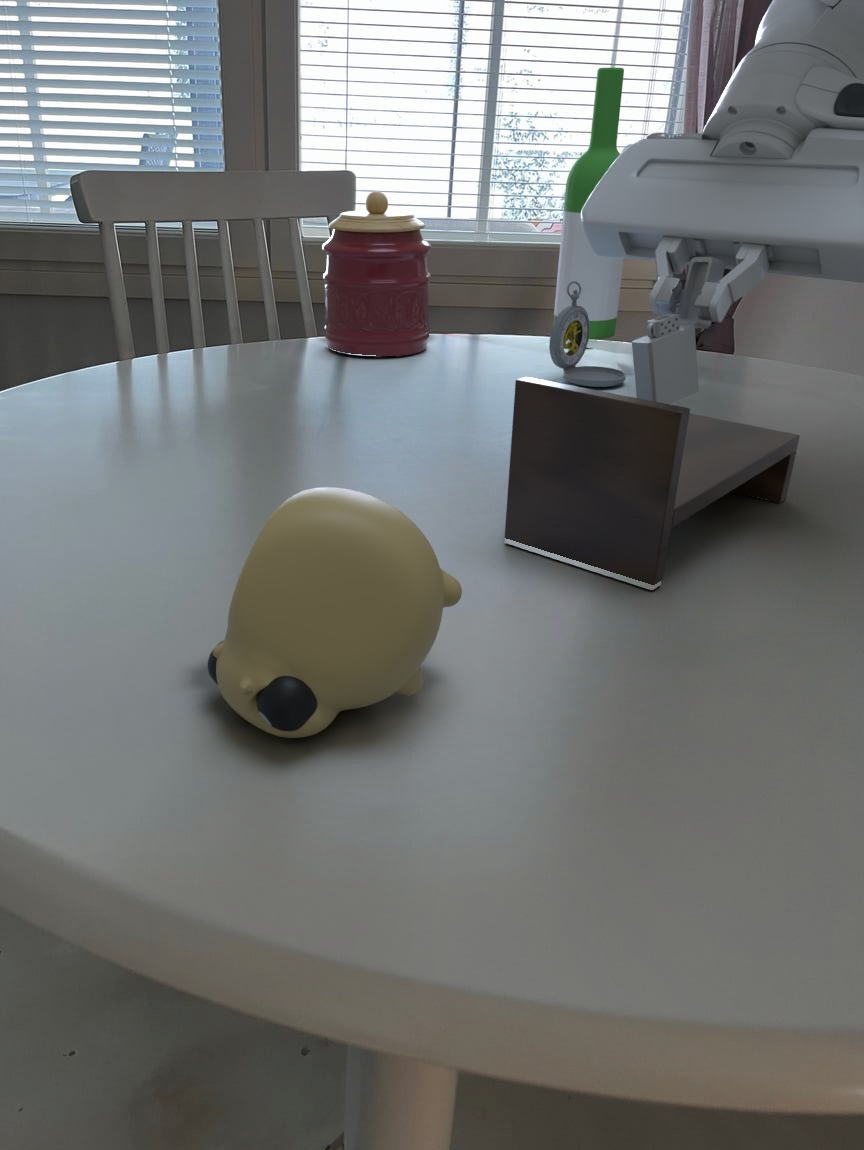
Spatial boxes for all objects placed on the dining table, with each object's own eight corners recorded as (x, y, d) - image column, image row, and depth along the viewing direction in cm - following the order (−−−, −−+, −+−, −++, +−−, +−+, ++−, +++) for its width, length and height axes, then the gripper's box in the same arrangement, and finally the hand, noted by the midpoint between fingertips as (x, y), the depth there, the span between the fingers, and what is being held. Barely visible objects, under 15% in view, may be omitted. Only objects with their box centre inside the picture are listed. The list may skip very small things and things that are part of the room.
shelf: (786, 499, 70) (819, 350, 65) (652, 592, 57) (681, 412, 51) (652, 467, 77) (673, 329, 71) (503, 544, 63) (515, 379, 58)
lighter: (655, 410, 60) (644, 281, 57) (635, 407, 62) (624, 281, 58) (731, 377, 63) (726, 251, 59) (710, 375, 64) (704, 252, 61)
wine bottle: (565, 352, 115) (593, 65, 100) (542, 339, 121) (564, 69, 107) (624, 349, 116) (659, 67, 102) (597, 337, 123) (627, 70, 108)
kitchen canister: (303, 346, 117) (297, 190, 108) (380, 332, 125) (380, 186, 116) (372, 364, 109) (372, 197, 100) (450, 348, 116) (456, 191, 108)
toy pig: (287, 714, 51) (128, 637, 44) (406, 531, 51) (266, 424, 44) (384, 806, 44) (212, 731, 37) (524, 592, 44) (378, 476, 37)
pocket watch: (626, 391, 98) (639, 291, 93) (545, 387, 100) (554, 288, 95) (622, 373, 105) (634, 279, 101) (547, 370, 107) (555, 276, 102)
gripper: (621, 98, 65) (530, 262, 63) (943, 96, 53) (842, 298, 51) (643, 168, 70) (559, 322, 68) (941, 180, 58) (849, 366, 57)
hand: (683, 312), depth 60 cm, fingers closed on lighter, 2 cm apart
